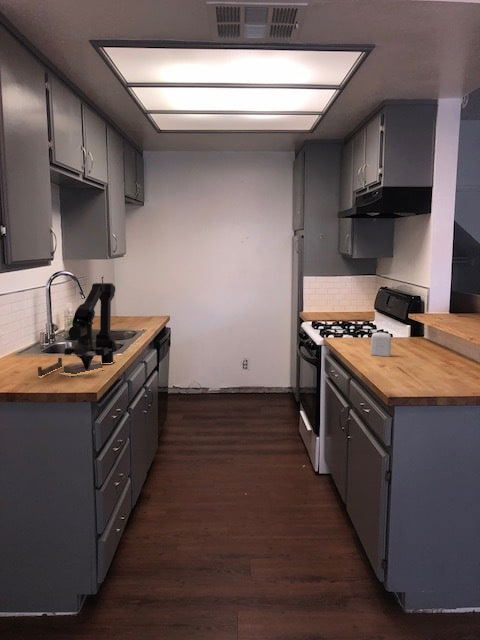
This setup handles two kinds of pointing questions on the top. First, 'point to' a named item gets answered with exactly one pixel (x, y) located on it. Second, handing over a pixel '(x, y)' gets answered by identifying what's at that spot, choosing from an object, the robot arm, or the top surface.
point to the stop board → (50, 368)
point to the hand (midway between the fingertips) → (87, 369)
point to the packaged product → (81, 367)
